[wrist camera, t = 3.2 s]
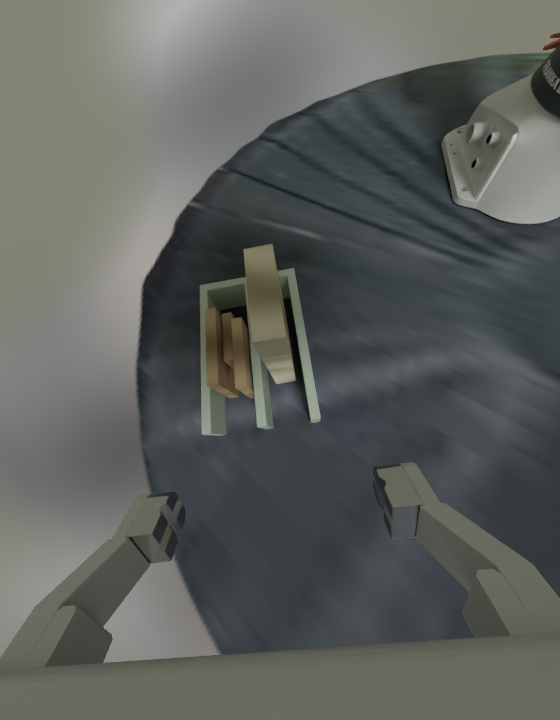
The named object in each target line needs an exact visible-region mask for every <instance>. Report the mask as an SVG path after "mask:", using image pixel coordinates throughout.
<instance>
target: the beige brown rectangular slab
mask: <svg viewBox="0 0 560 720" xmlns="http://www.w3.org/2000/svg"><path fill="white" fill-rule="evenodd" d="M243 250H244V261H245V272H246V283H247V294H248V304H249V315H250V326H251V337H252V343H253V345H254V347H255V348H256V350H257V352H258V354H259V355H260V357H261V359H262V360H263V362H264V364H265V365H266V367H267V369H268V370H269V372H270V374H271V376H272V377H273V379H274V381H275V382H276V384H279V383H286V382H292V381H296V377H295V370H294V364H293V357H292V350H291V344H290V337H289V331H288V324H287V318H286V313H285V307H284V302H283V297H282V291H281V286H280V281H279V276H278V270H277V265H276V260H275V255H274V249H273V244H269V245H264V246H258V247H253V248H248V249H243Z"/></svg>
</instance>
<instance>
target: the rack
mask: <svg viewBox="0 0 560 720" xmlns="http://www.w3.org/2000/svg"><path fill="white" fill-rule="evenodd" d="M278 276H279V281H280V286H281V291H282V297H283V299H287V298H291V304H292V311H293V317H294V323H295V329H296V335H297V341H298V347H299V354H300V360H301V366H302V372H303V378H304V384H305V391H306V397H307V403H308V409H309V415H310V421H311V423H315V422H319V421H320V419H321V417H320V412H319V406H318V400H317V395H316V389H315V383H314V378H313V372H312V366H311V361H310V355H309V349H308V344H307V338H306V332H305V327H304V321H303V315H302V310H301V304H300V299H299V293H298V287H297V282H296V276H295V270H294V268H291V269H286V270H281V271H278ZM241 306H247V316H248V328H249V339H250V350H251V361H252V373H253V384H254V395H255V406H256V418H257V427H259V428H263V429H271V428H274V426H273V417H272V408H271V399H270V390H269V381H268V372H267V367H266V365H265V364H264V362H263V360H262V359H261V357H260V355H259V354H258V352H257V350H256V348H255V347H254V345H253V343H252V337H251V326H250V315H249V304H248V294H247V283H246V277H243V278H237V279H232V280H226V281H221V282H215V283H210V284H205V285H200V339H201V412H202V435H215V436H220V435H227V433H226V412H225V395H223V394H221V393H219V392H217V391H215V390H213V389H211V388H210V387H208V386H207V374H206V328H205V309H210V308H216V309H217V311H218V312H219V314H220V315H221V310H224V309H230V308H236V307H241Z"/></svg>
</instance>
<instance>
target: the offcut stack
mask: <svg viewBox="0 0 560 720" xmlns="http://www.w3.org/2000/svg"><path fill="white" fill-rule="evenodd" d="M205 328H206V374H207V386H208V387H210V388H211V389H213V390H215V391H217V392H219V393H221V394H223V395H225V396H227V397H229V398H235V397H239V391H241V392H242V393H243V394H245V395H246V396H248V397H249V398H251V399H255V395H254V384H253V373H252V361H251V350H250V339H249V330H248V328H247V326H246V325H245V323H244V321H243V319H242V317H239V318H235V317H234V316H233V314H232V313H231V312H230V313H224V314H222V316H221V315H220V314H219V312H218V311H217V309H216V308H210V309H205Z"/></svg>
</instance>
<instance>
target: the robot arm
mask: <svg viewBox="0 0 560 720" xmlns="http://www.w3.org/2000/svg"><path fill="white" fill-rule="evenodd" d="M559 37H560V33H557V34H553V35H551V36H550V38H559ZM552 48H556V49H555V50H554V51H553V52H552V53H551V54H550V56H549V57H548V58H547V59H546V60H545V61H544V62H543V63H542V65H541V66H540V67H539V68H538V69H537V70H536V71H535V73H533V74H531V75H529V76H527V77H525V78H523V79H521V80H519V81H517V82H515V83H513V84H511V85H509V86H507V87H505V88H502V89H500V90H498V91H496V92H494V93H493V94H491V95H489V96H488V97H487V98H485V99H484V100H483V101H482V102H481V103H480V104H479V106H478V107H477V108H476V110H475V111H474V113H473V114H472V116H471V118H470V119H469V121H468V123H467V125H464V126H461V127H459V128H456V129H454V130H453V131H451V132H449V133H448V134H447V135H446V136H445V137H444V138H443V140H442V142H441V145H442V150H443V155H444V160H445V164H446V169H447V174H448V178H449V183H450V188H451V193H452V197H453V201H454V202H455V203H456V204H458V205H461V206H465V207H469V208H475V209H477V210H480V211H482V212H484V213H485V214H487V215H489V216H491V217H494V218H496V219H499V220H503V221H507V222H511V223H519V224H535V223H542V222H547V221H550V220H553V219H555V218H558V217H560V39H559V40H557V41H554V42H552V43H550V44H548V45H546V46H544V48H543V50H548V49H552ZM373 475H374V477H375V479H374V481H373V488H374V493H375V497H376V500H377V503H378V506H379V508H381V509H382V510H383V511H384V522H385V524H386V527H387V529H388V532H389V534H390V537H391V539H397V538H411V537H416V539H417V540H418V541H419V542H420V543H421V544H422V545H423V546H424V547H425V548H426V549H427V550H428V551H429V552H430V553H431V554H432V555H433V556H434V557H435V558H436V559H437V560H438V561H439V562H440V563H441V564H442V565H443V566H444V567H445V568H446V569H447V570H448V571H449V572H450V573H451V574H452V575H453V576H454V577H455V578H456V579H457V580H458V581H459V582H460V583H461V584H462V585H463V587H464V588H465V589H466V590H467V591H468V592H469V595H468V598H467V600H466V603H465V606H464V609H463V612H462V613H463V615H464V617H465V619H466V622H467V624H468V626H469V628H470V630H471V632H472V634H473V636H474V638H463V639H448V640H434V641H419V642H404V643H389V644H375V645H360V646H345V647H331V648H316V649H301V650H287V651H272V652H257V653H243V654H228V655H213V656H200V657H184V658H169V659H154V660H140V661H125V662H111V663H103V661H104V659H105V657H106V654H107V652H108V649H109V647H110V644H111V642H112V634H110V633H109V632H108V631H107V630H105V629H104V628H103V626H104V625H105V624H106V622H107V621H108V620H109V618H110V617H111V616H112V614H113V613H114V612H115V611H116V609H117V608H118V607H119V605H120V604H121V603H122V601H123V600H124V599H125V597H126V596H127V595H128V594H129V592H130V591H131V590H132V588H133V587H134V586H135V584H136V583H137V582H138V580H139V579H140V578H141V577H142V575H143V574H144V573H145V571H146V570H147V569H148V567H149V566H150V564H151V563H159V562H165V561H171V560H172V557H173V554H174V551H175V548H176V545H177V542H178V540H177V536H176V535H177V534H178V533H179V532H180V531H181V530H182V528H183V525H184V522H185V508H184V506H183V504H182V503H180V502H179V501H177V500H178V495H177V494H176V492H169V493H158V494H148V495H141V496H138V497H137V498H136V499H135V500H134V501H133V503H132V505H131V507H130V508H129V510H128V512H127V514H126V515H125V517H124V519H123V521H122V522H121V524H120V526H119V527H118V529H117V531H116V533H115V534H114V536H113V538H112V539H110V540H108V541H106V542H105V543H104V544H103V545H102V546H101V547H100V548H99V549H98V550H97V551H95V552H94V553H93V554H92V555H91V556H90V557H89V558H88V559H87V560H86V561H85V562H83V563H82V564H81V565H80V566H79V567H78V568H77V569H76V570H75V571H74V572H72V573H71V574H70V575H69V576H68V577H67V578H66V579H65V580H64V581H63V582H62V583H61V584H59V585H58V586H57V587H56V588H55V589H54V590H53V591H52V592H51V593H50V594H48V596H46V597H45V598H44V599H43V600H42V601H41V602H40V603H39V604H38V605H36V606H35V607H34V609H33V610H32V612H31V613H30V615H29V616H28V618H27V619H26V621H25V622H24V624H23V625H22V627H21V628H20V630H19V631H18V633H17V634H16V636H15V637H14V638H13V640H12V641H11V643H10V644H9V646H8V648H7V649H6V650H5V652H4V653H3V655H2V656H1V658H0V720H560V598H559V597H558V596H557V595H556V593H555V592H554V591H553V589H552V588H551V587H550V586H549V584H548V583H547V582H546V581H545V579H544V578H543V577H542V576H541V574H540V573H539V572H538V570H537V569H536V568H535V567H534V565H533V564H532V563H530V562H529V561H527V560H526V559H525V558H523V557H522V556H520V555H519V554H517V553H516V552H515V551H513V550H512V549H510V548H509V547H507V546H506V545H505V544H503V543H502V542H500V541H499V540H497V539H496V538H494V537H493V536H492V535H490V534H489V533H487V532H486V531H484V530H483V529H482V528H480V527H479V526H477V525H476V524H474V523H473V522H472V521H470V520H469V519H467V518H466V517H464V516H463V515H462V514H460V513H459V512H457V511H456V510H454V509H453V508H451V507H450V506H449V505H447V504H446V503H440V501H439V500H438V498H437V497H436V495H435V493H434V492H433V490H432V489H431V487H430V486H429V484H428V482H427V481H426V479H425V478H424V476H423V474H422V473H421V471H420V470H419V468H418V466H417V465H416V464H415V463H414V462H410V463H403V464H392V465H385V466H378V467H374V468H373Z"/></svg>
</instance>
